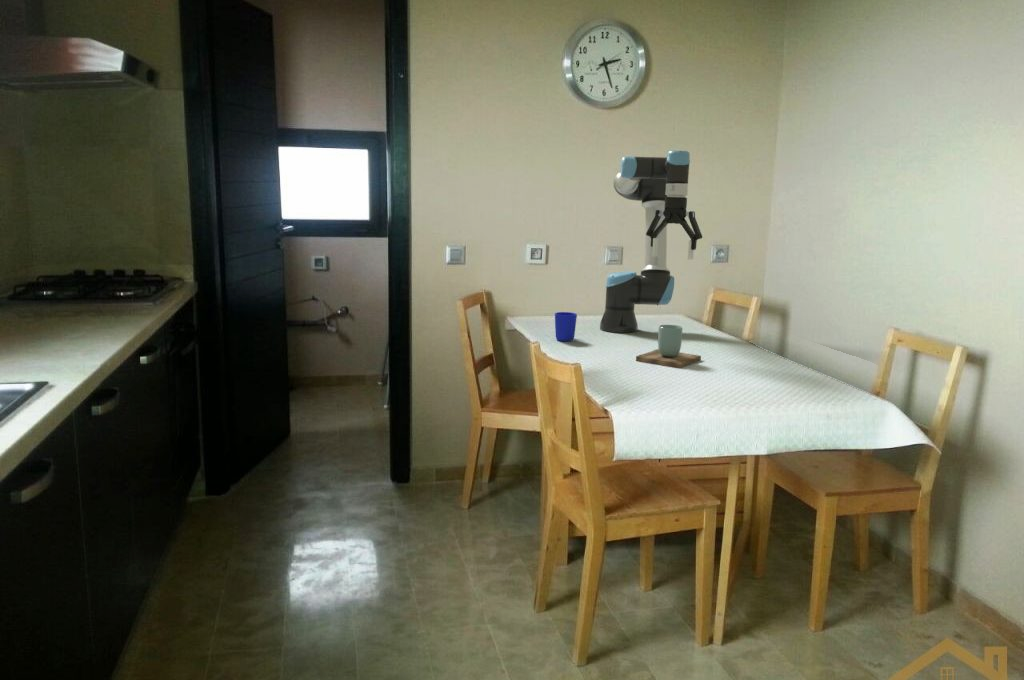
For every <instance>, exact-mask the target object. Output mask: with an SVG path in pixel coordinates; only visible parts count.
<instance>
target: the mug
mask: <svg viewBox="0 0 1024 680" xmlns="http://www.w3.org/2000/svg"><path fill="white" fill-rule="evenodd" d="M577 316H578V314H577V313H575V312H571V311H570V312H568V311H566V312H565V311H561V312H555V313H554V325H555V326H554V329H555V331H554V332H555V338H556V340H557V341H559V342H571V341H573V340H574V339H575V334H576V325H577V319H578V318H577Z"/></svg>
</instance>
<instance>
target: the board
mask: <svg viewBox="0 0 1024 680" xmlns="http://www.w3.org/2000/svg"><path fill="white" fill-rule="evenodd" d="M635 361H636V362H642V363H646V364H647V363H648V364H653V365H654V364H655V365H660V366H664V367H665V366H666V367H671V368H678V369H681V368H684V367H687V366H689V365H693V364H694V363H696V362H699V361H702V356H701V355H699V354H691V353H686V352H679V354H678V355H677V356H675V357H665V356H662V355H661V354H660V352H659V349H658V348H656V349H654V350H650V351H648V352H645V353H642V354H638V355H636V357H635Z"/></svg>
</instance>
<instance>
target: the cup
mask: <svg viewBox="0 0 1024 680" xmlns="http://www.w3.org/2000/svg"><path fill="white" fill-rule="evenodd" d="M657 335H658V337H657V349H659V352H660V354H661V355H662V356H665V357H675V356H677V355H678V354H679V352H680V351H681V349H682V342H683V326H681V325H677V324H661V325H659V326H658V334H657ZM680 353H681V352H680Z"/></svg>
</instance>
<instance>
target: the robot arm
mask: <svg viewBox="0 0 1024 680" xmlns="http://www.w3.org/2000/svg"><path fill="white" fill-rule="evenodd" d="M690 156H691V155H690V151H687V150H670V151H668V153H667V157H664V156H663V157H662V156H661V157H658V156H654V157H653V156H633V155H631V156H623V157H622V158H621V161H620V172H618V173H617V174H616V176H615V178H614V180H613V188H614V190H615V192H616V193H617V194H618V195H619V196H620V197H622V198H624V199H626V200H629V201H630V200H631V201H638V202H639V201H640V202H641V207H643V209H644V210H645V217H644V218H645V220H644V221H645V226H644V228H645V229H644V268H642V270H640V275H637V272H636V271H633V270H632V271H628V270H627V271H626V270H625V271H618V272H613V273H610V274H608V275H607V276H606V284H605V305H604V306H605V307H604V313H603V315H602V318H601V320H600V323H599V329H600V330H601V331H603V332H604V331H605V332H609V333H619V334H623V333H635V332H637V331H638V330H639V328H638V327H639V324H638V321H637V317H636V313H635V305H646V306H647V305H648V306H649V305H650V306H652V305H653V306H654V305H655V306H666V305H669V304H670V303H671V301H672V297H673V293H674V288H675V277H674V276H673V275H671V270H670V269H669V268H667V249H668V248H667V242H668V241H667V231H668V230H667V229H668V228H667V226H668V224H675V225H678V224H679V225H680V226H681V227H682V228H683V229H684V231H685V233H686V234H687V235H688V237H689V238H690V240H689V241H688V248H687V249H688V250H687V260H694V251H695V250H696V249H697V241H698V240H701V239H703V234H702V232H701V229H700V226H699V224H698V222H697V219H696V212H695V211H694V210H691V211H687V204H688V198H687V197H686V196H688V191H689V189H688V187H689V185H688V184H689V176H690V175H689V172H690V163H691V160H690V159H691V158H690ZM686 217H687V218H688V220H689V223H690V225H691V227H692V228H691V227H690V225H689V224H688V221H687V219H686Z"/></svg>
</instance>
